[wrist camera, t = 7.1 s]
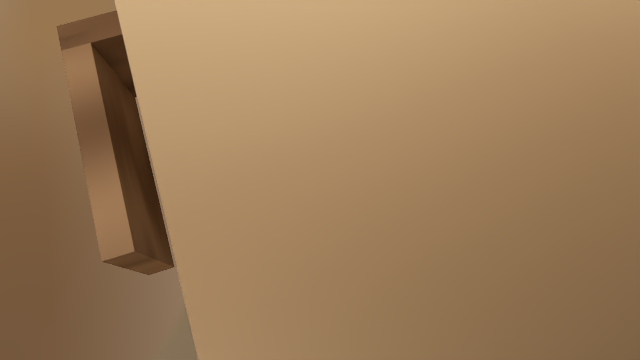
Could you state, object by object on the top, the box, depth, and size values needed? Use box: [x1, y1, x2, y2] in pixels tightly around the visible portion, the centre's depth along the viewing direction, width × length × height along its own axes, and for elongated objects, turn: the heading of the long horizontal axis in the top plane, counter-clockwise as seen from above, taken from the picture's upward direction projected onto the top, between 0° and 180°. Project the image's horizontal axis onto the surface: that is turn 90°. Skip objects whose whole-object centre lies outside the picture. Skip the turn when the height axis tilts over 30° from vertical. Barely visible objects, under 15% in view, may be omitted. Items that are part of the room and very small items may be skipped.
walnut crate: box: [57, 10, 174, 275], centre depth 22 cm, size 10×17×5 cm, turn 108°
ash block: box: [115, 0, 640, 360], centre depth 9 cm, size 5×5×13 cm
